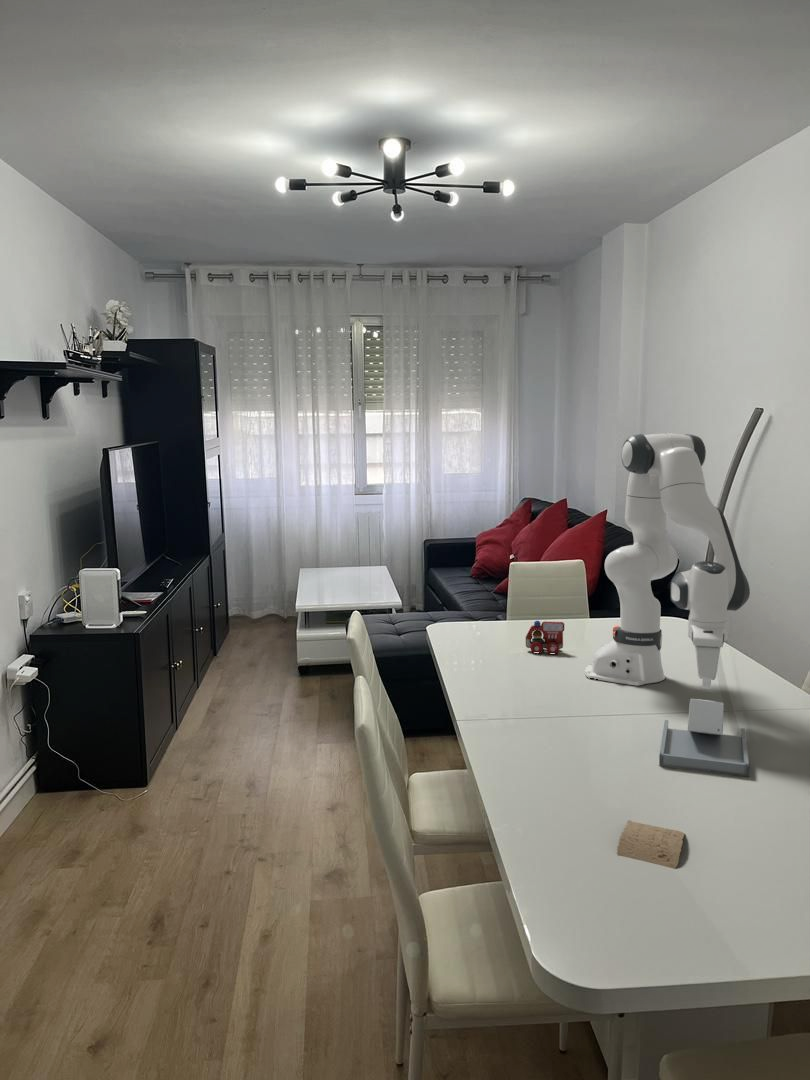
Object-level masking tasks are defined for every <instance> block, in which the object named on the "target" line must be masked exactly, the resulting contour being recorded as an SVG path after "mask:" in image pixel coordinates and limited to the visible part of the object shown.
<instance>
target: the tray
mask: <svg viewBox="0 0 810 1080" xmlns="http://www.w3.org/2000/svg"><path fill="white" fill-rule="evenodd" d="M660 743H661V744H660V750H659V756H658V757H659V761H658V762H659V763H658V766H659V767H668V768H675V769H682V770H691V771H701V772H706V773H716V774H723V775H731V776H739V777H746V778H749V777H750V776H749V774H750V762H749V755H748V754H749V752H748V744H747V735H746V728H745V727H744V728H743V727H741V728H740V735H739V736H738V735H733V734H732V735H731V734H724V733H723V735H716V734H707V733H700V732H693V731H688V729H687V730H686V729H684V730H683V729H676V728H675V729H674V728H669V720H667V719H664V723H663V730H662V736H661V742H660Z"/></svg>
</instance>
